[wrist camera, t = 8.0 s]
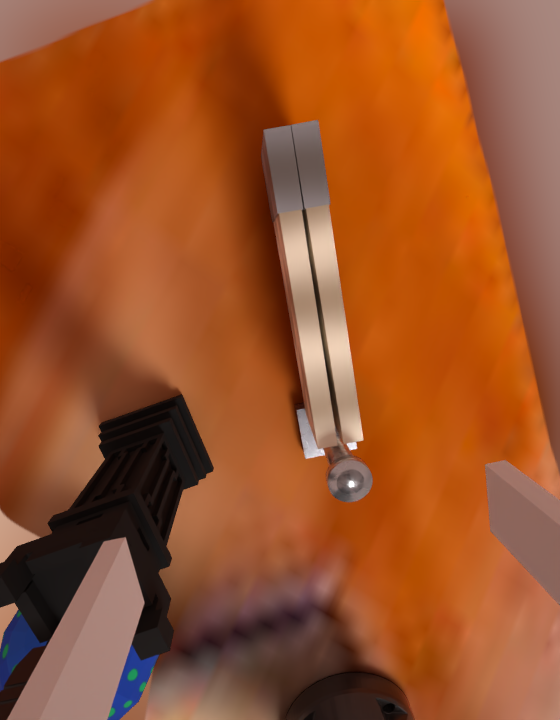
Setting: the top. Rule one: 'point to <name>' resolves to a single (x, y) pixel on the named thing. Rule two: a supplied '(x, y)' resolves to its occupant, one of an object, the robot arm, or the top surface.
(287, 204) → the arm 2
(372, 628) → the top surface
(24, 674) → the robot arm
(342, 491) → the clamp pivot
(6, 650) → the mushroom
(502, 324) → the top surface
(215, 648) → the top surface
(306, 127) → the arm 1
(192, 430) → the chess piece
